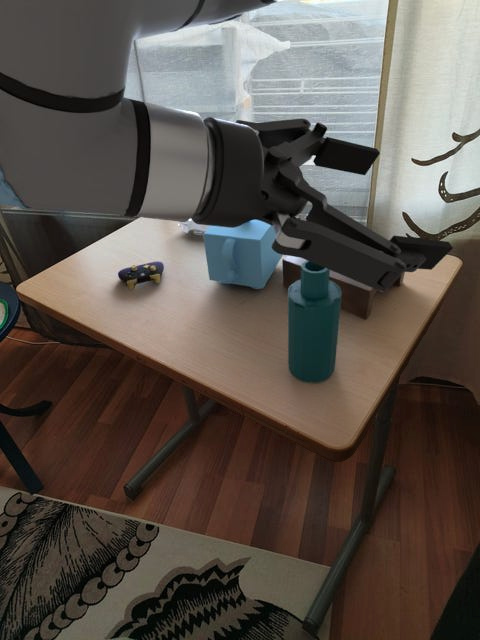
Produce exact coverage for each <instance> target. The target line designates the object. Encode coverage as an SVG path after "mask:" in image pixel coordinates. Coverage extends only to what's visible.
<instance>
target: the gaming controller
mask: <svg viewBox="0 0 480 640" xmlns="http://www.w3.org/2000/svg"><path fill="white" fill-rule="evenodd" d="M164 270H165V266H164V263H163V262H162V261H157V260H156V261H151V262H147V263H142V264H138V265H136V264H133V265H131V266H129V267H125V268H122V269H120V270H119V271H118V272H117V277H118V279H119V280H120V281H121V282H122V283H124V284H125V285H126V286H127V287H128V288H129V289H130V290H135V288H136V285H139V284H143V283H148V282H152V281H154V283H156V284H160V282H161V280H162V276H163V273H164Z"/></svg>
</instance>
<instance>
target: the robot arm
mask: <svg viewBox="0 0 480 640" xmlns="http://www.w3.org/2000/svg"><path fill="white" fill-rule="evenodd" d="M281 1H283V0H0V204H1V205H7V206H12V207H18V208H19V209H21V210H28V211H29V210H32V209H35V210H51V211H66V212H79V213H93V214H94V213H95V214H96V213H97V214H105V215H117V216H120V217H128V218H134V217H136V218H144V219H152V220H162V221H168V222H169V221H170V222H178V223H179V222H187V221H188V220H190V219H192V220H193V222H195V223H196V224H200V225H209V226H219V227H229V228H235V227H238V226H240V225H242V224H244V223H246V222H249V221H251V220H259V221H262V222H265V223H267V224H269V225H272V226H273V227H274V230H275V233H276V238H275V240H274V242H273V243H272V245H271V246H272V249H273V250H274V251H275V252H276V253H278V254H282V255H283V256H294V257H300V258H303V259H305V260H308V261H310V262H312V263H315V264H317V265H320V266H322V267H324V268H327V269H329V270H331V271H334V272H336V273H339V274H341V275H343V276H346V277H348V278H351V279H353V280H355V281H358V282H360V283H362V284H365V285H367V286H370V287H372V288H374V289H377V291H380V292H382V293H384V292H386V291H387V290H389V289H390V287H391V286H392V285H393V283H394V282H395V281H396V280H397V279H398V278H399V277H400V276H401V274H402V273H403V272H405V273H414V272H416V271H417V270H430V271H431V270H433V269H434V268H435V267H436V266H437V265H438V264H439V263H440V262H441V261H442V260H443V259H445V257H446V256H447V255H448V254H449V253H450V252H451V251H452V250H453V249H454V247H453V246H452V244H451V243H450V242H449V241H447V240H445V241H444V240H438V239H427V238H420V237H411V236H401V235H392V237H391V238H390V239H387V238H386V237H384V236H383V235H381V234H379V233H378V232H376V231H374V230H372V229H370V228H369V227H367V226H366V225H364V224H362V223H361V222H359V221H357V220H356V219H355V218H352V217H351V216H349V215H348V214H346V213H344V212H343V211H341V210H339V209H337V208H336V207H334V206H333V205H331V204H329V202H328V198H327V196H326V195H325V194H324V193H323V192H321V191H319V190H318V189H316V188H314V187H313V186H311V185H310V184H309V182H308V181H307V180H306V179H305V178H304V175H303V172H302V170H301V168H300V167H301V166H303V165H305V164H306V163H307V162H309V161H311V159H312V158H313V156H314V158H313V160H312V162H313V164H314V166H316V167H320V168H326V169H330V170H335V171H341V172H345V173H351V174H355V175H356V174H357V175H361V176H367V174H368V172H369V171H370V169H371V168H372V166H373V164H375V161H376V160H377V159H378V157H379V155H380V154H381V152H380V151H379V150H378V148H375V147H371V146H367V145H362V144H359V143H354V142H350V141H346V140H342V139H339V138H334V137H329V136H326V137H324V136H325V134H326V133H327V131H328V127H327V126H326V125H325V124H323V123H321V122H316V123H315V124H314V127H313V129H312V130H311V129H310V127H311V126H312V123H311V122H310V121H309V120H308V119H306V118H301V117H300V118H292V119H282V120H272V121H271V120H270V121H262V122H253V121H247V120H242V119H237V120H236V121H235V122H233V121H229V120H225V119H221V118H216V117H212V116H209V117H206V118H204V119H203V118H202V116H201V115H200V114H199V113H197V112H193V111H188V110H184V109H179V108H176V107H175V108H174V107H169V106H165V105H162V104H161V105H160V104H156V103H151V102H146V101H140V100H137V99H133V98H128V97H126V96H125V92H126V87H127V80H128V75H129V71H130V70H129V69H130V64H131V59H132V53H133V47H134V41H135V40H141V39H145V38H151V37H154V36H159V35H163V34H168V33H175V32H178V31H179V30H183V29H188V28H194V27H199V26H205V25H207V26H213V25H219V24H222V23H227V22H231V21H233V20H237V19H238V18H240V17H242V16H243V15H244V14H246V13H250V12H253V11H256V10H259V9H261V8H265V7H268V6H270V5H273V4H275V3H278V2H281ZM308 203H310V204H311V205H312V206H311V208H310V210H309V211H308V213H307V214H306V215H305V216H303V215H300V214H301V213H302V212H303V211H304V209H305V208H306V206H307V204H308ZM298 215H300V216H298ZM297 216H298V217H297Z"/></svg>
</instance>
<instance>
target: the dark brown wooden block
mask: <svg viewBox="0 0 480 640" xmlns="http://www.w3.org/2000/svg"><path fill="white" fill-rule="evenodd" d="M304 261H306V260H305V259H303V258H300V257H294V256H288V255H286V257H284V258H282V263H281V264H282V287H285V288H287V289H289V287H290V286H291V285H292V284H293V283H294V282H296V281H298V280H301V265H302V263H303V262H304ZM405 274H406V272H403V273H402V274H401V276H400V277H399V278H398V279H397V280H396V281H395V282H394V283H393V284H392V285H393V286H396V287H400V286H402V285H403V283H404V277H405ZM329 280H330V281H333V282H334V283H336V284H337V285H338V286H339V287H340V289H341V292H342V296H341V307H340V311H344V312H346V313H348V314H351V315H353V316H356V317H358V318H361V319H363V320H368V318H370V316H371V313H372V306H373V300H374V294H375V293H377V291H378V290H377V289H374V288H372V287H370V286H367V285H365V284H362V283H360V282H358V281H355V280H353V279H351V278H348V277H346V276H343V275H341V274H339V273H336V272H334V271H331V270H330V273H329Z"/></svg>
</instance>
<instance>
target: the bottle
mask: <svg viewBox="0 0 480 640" xmlns="http://www.w3.org/2000/svg"><path fill="white" fill-rule="evenodd" d="M329 273H330V270H329V269H327V268H324V267H322V266H320V265H317V264H315V263H312V262H310V261H308V260H306V261H304V262H303V263H302V265H301V280H298V281H296V282H294V283H293V284H292V285H291V286H290V287H289V288H288V290H287V365H288V370H289V372H290V374H291V375H292V376H293V377H294V378H295V379H296V380H298V381H300V382H302V383H303V382H304V383H308V384H317V383H323V382H325V381H327V380H328V379H330V378H331V377H332V376H333V375H334V373H335V369H336V361H337V350H338V338H339V327H340V317H341V309H340V307H341V296H342V292H341V289H340V287H339V286H338V285H337V284H336V283H334V282H333V281H330V280H329Z"/></svg>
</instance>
